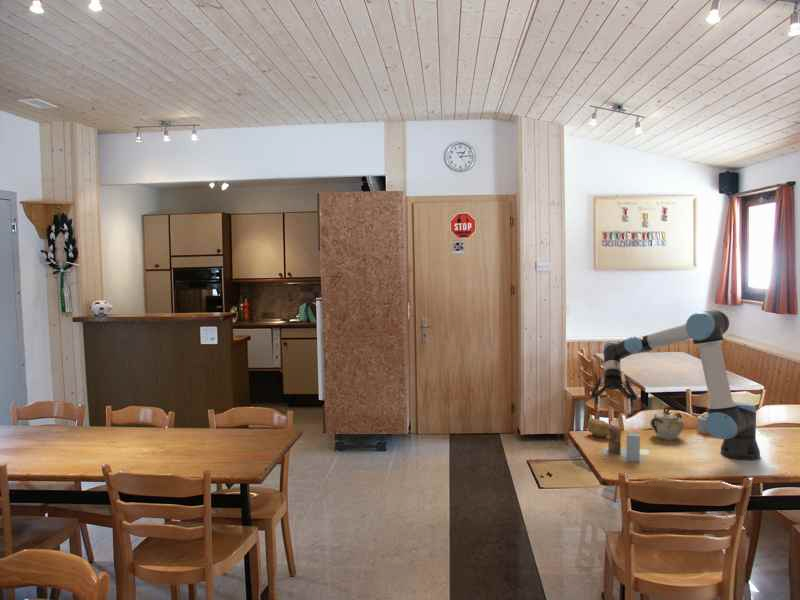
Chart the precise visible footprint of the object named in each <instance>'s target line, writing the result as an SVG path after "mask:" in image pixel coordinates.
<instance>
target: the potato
mask: <svg viewBox="0 0 800 600" xmlns="http://www.w3.org/2000/svg"><path fill="white" fill-rule="evenodd" d="M609 426H612V425H611V424H610V423H609V422H606V421H604V420H601V419H598V418H595V417H594V418H590V419H588V420H587V428H588V429H587V430H588V431H589V432H590V433H591V434H592V435H593V436H595V437H599V438H600V437H601V438H602V437H603V438H606V437H608V432H609Z"/></svg>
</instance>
